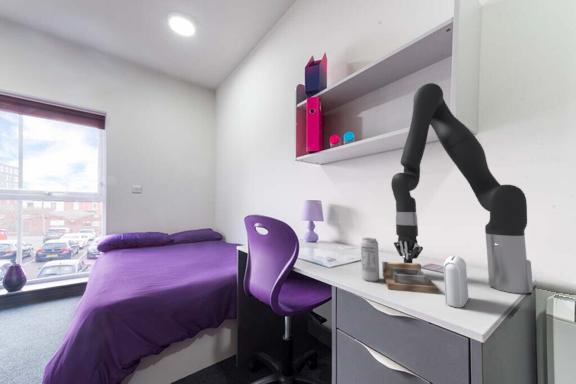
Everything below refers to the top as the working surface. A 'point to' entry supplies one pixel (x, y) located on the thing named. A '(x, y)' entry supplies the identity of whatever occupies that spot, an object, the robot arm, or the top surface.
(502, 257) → the robot arm
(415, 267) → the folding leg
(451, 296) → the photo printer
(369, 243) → the energy drink can
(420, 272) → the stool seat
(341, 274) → the top surface
